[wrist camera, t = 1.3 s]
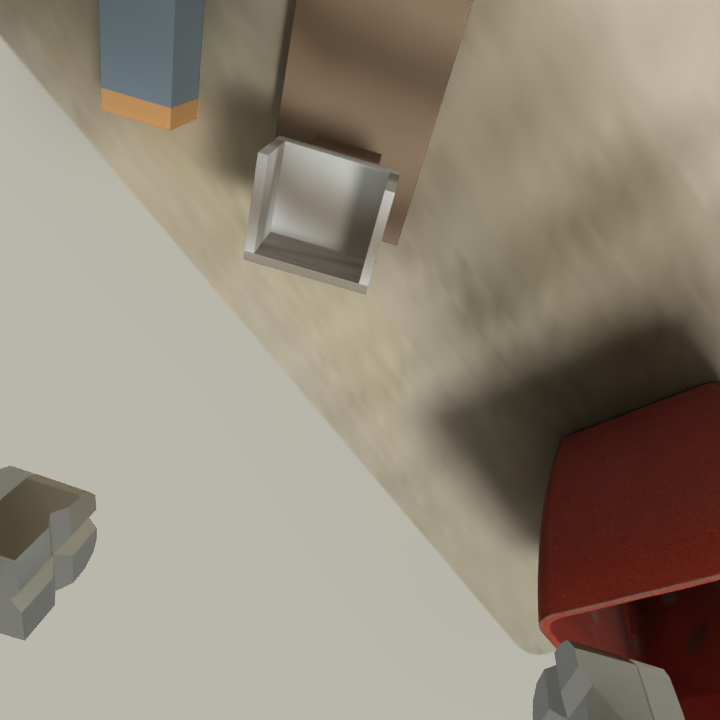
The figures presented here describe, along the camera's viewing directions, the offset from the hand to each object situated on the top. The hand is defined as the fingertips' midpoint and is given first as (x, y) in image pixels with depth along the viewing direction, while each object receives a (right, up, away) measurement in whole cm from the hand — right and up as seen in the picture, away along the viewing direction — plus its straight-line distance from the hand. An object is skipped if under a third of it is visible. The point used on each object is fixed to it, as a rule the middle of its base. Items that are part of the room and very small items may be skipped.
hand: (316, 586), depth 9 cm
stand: (+2, +22, +21) cm, 30 cm away
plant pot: (+26, -5, +35) cm, 44 cm away
